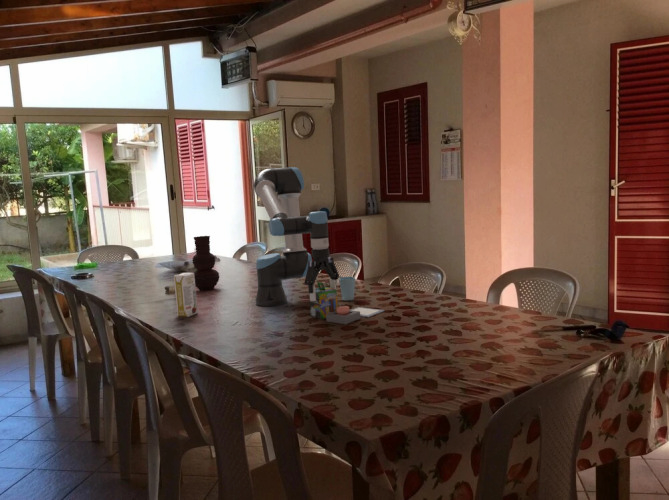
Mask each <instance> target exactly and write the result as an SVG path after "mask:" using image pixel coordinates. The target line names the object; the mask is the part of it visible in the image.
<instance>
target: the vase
mask: <svg viewBox="0 0 669 500" xmlns="http://www.w3.org/2000/svg"><path fill="white" fill-rule="evenodd" d="M210 238H211V235H200V236H194V237H193V240H194V246H195V255H193V256H192V260H191V261H192V265H193V267H194V269H195V270H196V271H194V272H193V273H194V276H195V287H196V288H197V289H198V291H199V292H210V291H211V292H212V291H214V289H215V287H216V286H217V284H218V283H219V281H220V272H218V271H217V269H213V268H214V267H215V264H216V256H215V255H214V254H213V253H211V245H210V244H211V241H210V240H211V239H210Z"/></svg>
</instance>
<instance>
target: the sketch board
mask: <svg viewBox="0 0 669 500" xmlns="http://www.w3.org/2000/svg"><path fill="white" fill-rule="evenodd" d="M351 310H352V311H359V312H360V318H361V317H363V318H371V317H373V316H376V315H378V314H381V313H384V312H385V309H377V308H376V309H375V308H369V307H360V306H358V307H354V308H352V309H351Z"/></svg>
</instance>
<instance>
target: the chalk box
mask: <svg viewBox="0 0 669 500" xmlns="http://www.w3.org/2000/svg"><path fill="white" fill-rule="evenodd" d="M316 283H317V286H318V288H315V292H316V301H311V300H310V293H309V292H308V299H309V300H308V301H309V309H310V310H309V311H310V316H311V317H314V318H317V319H319V320H324V319H326V314H328V313H331V312H334V311H337V308H336V307H338V306H339V305H338V291H337V288H336V289H332V288H330V287H327V286H326V287H325V285H324V283H323V282H320V281H317V282H316Z"/></svg>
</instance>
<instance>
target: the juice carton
mask: <svg viewBox="0 0 669 500" xmlns="http://www.w3.org/2000/svg"><path fill="white" fill-rule="evenodd" d="M173 281H174V289H175V290H174V292H175V303H176V312H177V313H176V314H177V317H183V318H184V317H186V318H189V317H191V316H194V315H197V314H198V300H197V290H196V288H197V287H196V286H195V276H194V272H182V273H180V274H174V275H173Z"/></svg>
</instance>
